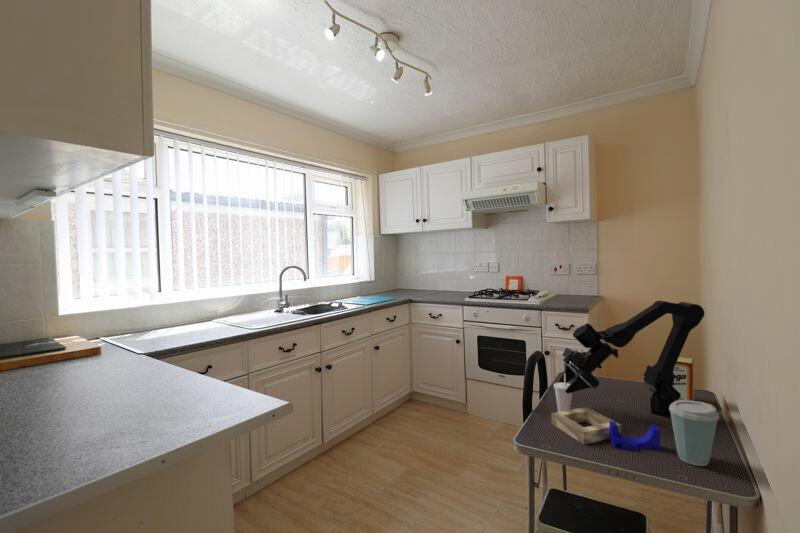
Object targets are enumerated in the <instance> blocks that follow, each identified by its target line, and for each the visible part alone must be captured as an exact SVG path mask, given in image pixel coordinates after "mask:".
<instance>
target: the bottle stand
mask: <svg viewBox="0 0 800 533" xmlns="http://www.w3.org/2000/svg"><path fill="white" fill-rule="evenodd" d="M550 415H551V421H550V422H551V425H553V426H554V427H556V428H558V429H559V430H560V431H562V432H563V433H566V434H567V435H569V436H570V437H571V438H573V439H575V440H576V441H578V442H579V443H581V444H583V445H587V444H592V443H597V442H600V441H605V440H610V421H613V422H616V421H614V420H613V419H610V418H609V417H606V416H605V415H603V414H600V413H599V412H596V411H595V410H593V409H590V408H589V407H587V406H583V407H578V408H573V409H570V410H567V411H561V412H558V411H557V412H551V414H550ZM584 422H586V423H588V424H590V426H585V427H584V426H582V425H581V424H580V423H584ZM616 424H617V426H618V430H619V432H620V433H621V434H622V424H620V423H618V422H616Z"/></svg>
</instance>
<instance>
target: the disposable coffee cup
mask: <svg viewBox="0 0 800 533" xmlns="http://www.w3.org/2000/svg"><path fill="white" fill-rule="evenodd" d="M669 410H670V414H671V424H672V430H673V436H674V441H675V442H674V443H675V447H676V452H677V455H678V458H679V459H680V460H681V461H683V462H684V463H686V464H689V465H693V466H698V467H706V466H708V464H709V463H710V461H711V455H712V450H713V444H714V439H715V435H716V430H717V424H718V421H719V420H720V416H719V412H718V411H717V408H716V407H715V406H713V404H710V403H706V402H703V401H698V400H697V401H696V400H694V401H682V400H681V401H675V402H673V403H672V404H671V405H670V406H669Z"/></svg>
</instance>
